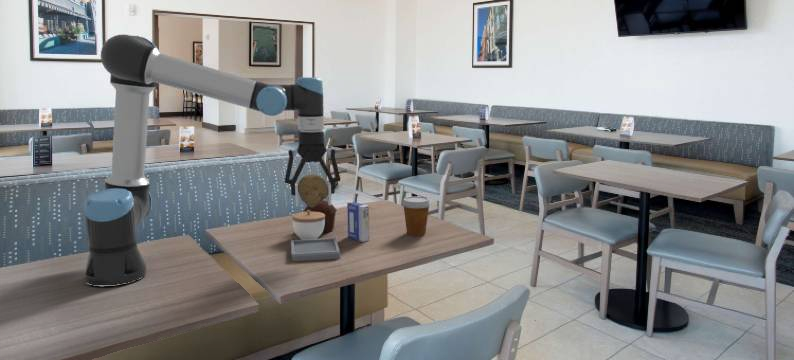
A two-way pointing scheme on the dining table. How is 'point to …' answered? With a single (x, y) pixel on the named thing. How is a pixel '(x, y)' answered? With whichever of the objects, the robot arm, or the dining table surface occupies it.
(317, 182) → the natural sponge
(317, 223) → the lidded jar
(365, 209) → the walkman
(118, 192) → the robot arm
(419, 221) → the disposable coffee cup
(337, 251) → the slate square tray
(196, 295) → the dining table surface
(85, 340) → the dining table surface
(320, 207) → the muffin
